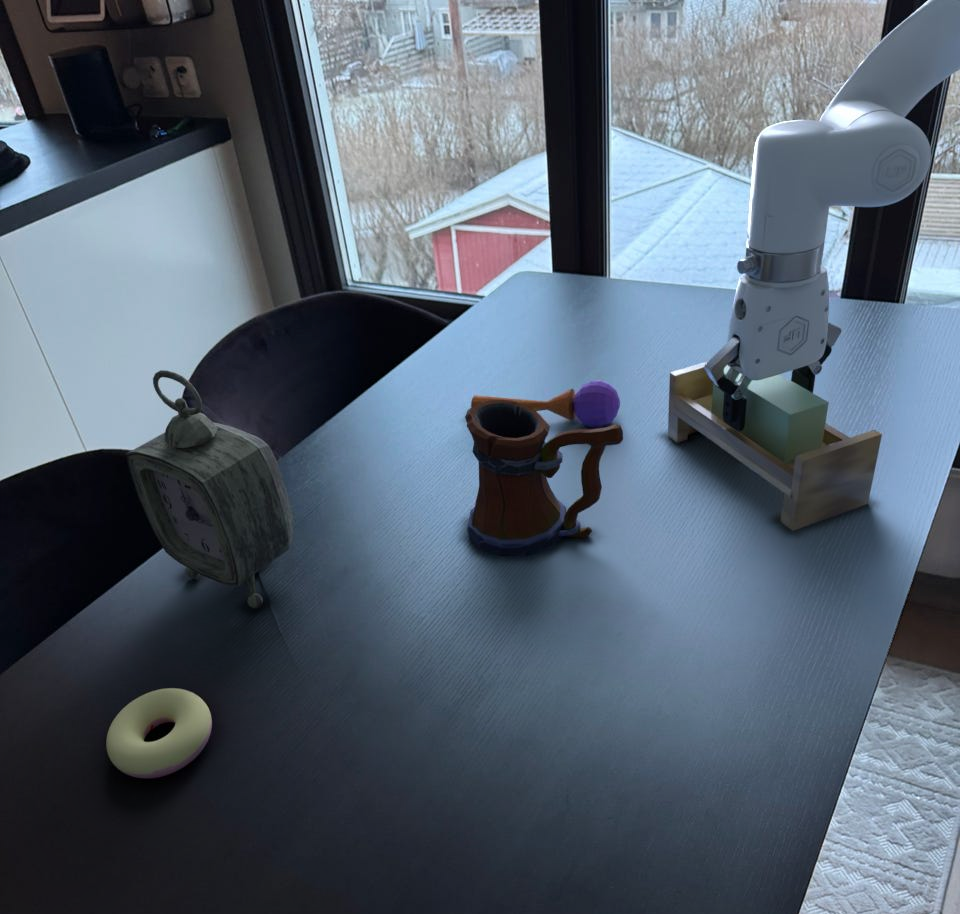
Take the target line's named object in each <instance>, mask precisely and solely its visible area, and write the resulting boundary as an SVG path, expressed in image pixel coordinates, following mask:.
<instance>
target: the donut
mask: <svg viewBox="0 0 960 914" xmlns="http://www.w3.org/2000/svg"><path fill="white" fill-rule="evenodd" d="M167 723H174V727H173V728H172V729H171V730H170V732H169V733H168V734H166V735H165V736H163V737H161V738H159V739H157V740H153V741H145V740H146V737H147V736H148V734H149V733H150V732H151V731H152V730H153V729H156V727H158V726H160V725H163V724H167ZM212 728H213V719H212V713H211V711H210V709H209V707H208V705H207V703H206V702H205V701H204V700H203V698H201V697H200V696H199V695H198V694H196V693H194V692H193V691H189V690H187V689H183V688H175V687H169V688H168V687H167V688H160V689H156V690H152V691H150V692H147V693H145V694H142V695H140V696H138V697H137V698H135V699H133V700H132V701H130V702H129V703H128V704H127V705H126V706H124V707H123V708H122V709H121V710H120V711H119V712H118V713H117V715H116V716H115V717H114V719H113V720H112V722H111V724H110V726H109V728H108V731H107V735H106V740H105V741H106V742H105V743H106V744H105V745H106V752H107V756H108V758H109V759H110V761H111V763H112V765H113V766H114V767H115V768H116V769H117V770H119V771H120V772H121V773H123V774H125V775H127V776H130V777H132V778H137V779H156V778H157V779H158V778H161V777H165V776H169V775H171V774H174V773H175V772H178V771H180V770H181V769H183V768H185V767H186V766H188V765H189V764H190V763H192V762H193V761H194V760H195V759H196V758H198V756H199V755H200V754H201V753H202V752H203V750H204V748H205V747H206V745H207V743H208V742H209V739H210V737H211V734H212Z"/></svg>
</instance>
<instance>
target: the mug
mask: <svg viewBox="0 0 960 914" xmlns="http://www.w3.org/2000/svg"><path fill="white" fill-rule="evenodd" d="M464 419H465V421H466V428H467V430H468V431H469V433H470V435H471V437H472V441H473V445H472V446H473V447H472V454H473V455H474V457H475V458H476V460H477V461H478V491H477V495H476V499H475V504H474V506H473V508H470V509H469V518H468V522H467V527H466V529H467V534H468V537H469V538H470V539H471V541H472V542H473V543H474V545H475V546H476V547H477V549H478V550H480V551H482V552H486V553H491V554H495V555H498V556H502V557H507V556H509V557H521V556H522V557H527V556H531V555H535V554H536V553H539V552H542V551H543V552H544V551H545V550H549V549H551V548H553V547H555V545H556V544H557V543H559V542H560V540H562V539H563V538H564V537H567V538H575V539H587V538H588V537H589V536H590V534H591V533H592V532H593V529H592V527H589V526H585V527H581V526H582V525H581V522H580V521H579V520H578V515H579V514H580V513H582V512H584V511H586V510H587V509H589V508H591V507H592V506H594V505H595V504H597V502H598V501H599V500H600V498H601V492H602V486H603V485H602V482H601V475H600V463H601V462H600V461H601V458H602V456H603V453H604V452H605V449H606V446H616V445H619V444H621V443H622V442H623V440H624V430H623V428H622V425H620V424H618V423H615V424H612V425H609V426H607V427H597V428H592V429H591V428H575V429H568V430H564V431H562V432H560V433H558V434H555V435H554V436H553V437H551V438H550V439H549V440H548V441H547V442H546V438H547V437H548V436H549V432H550V428H551V426H550V424H549V423H548V422H547V421H546V419H545V417H543V416H542V414H541V413H540V412H539V411H535V410H533V409H531V408H529V407H528V406H526V405H524V404H522V403H521V404H518V403H517V402H514V401H508V400H502V399H501V400H490V401H484V402H482V403H479V404H477V405H475V406H473V407H471V406H470V408H469V409H467V411H466V414H465V417H464ZM571 445H572V446H573V445H589V446H590V448H589V450H588V451H587V453H586V454H585V457H584V459H583V461H582V464H581V470H580V480H581V488H582V489H581V490H582V496H580V497H579V498H577V499H576V500H575V501H574V502H573V503H572V504H570V506H569V507H568V508H566V507H567V506H566V505H565V504H563V503H562V502H561V501H560V500H559V499H558V498H557V497H556V495H555V493H554V492H553V490H552V488H551V486H550V484H549V481H548V479H552V478H553V477H554V476H555V475H556V474H557V473H558V471H559V470H560V468H561V464H562V463H563V461H564V459H563V458H564V455H563V453H562V452H561V451H560V448H564V447H567V446H571Z"/></svg>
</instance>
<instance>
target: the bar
mask: <svg viewBox="0 0 960 914" xmlns="http://www.w3.org/2000/svg"><path fill="white" fill-rule="evenodd" d="M729 369H730V367H729V366H728V365H727V366H726V367H725V368H724V374H725V375H726V374H727V372H728V370H729ZM742 375H743V374H741V373H740V374H739V375H738V377H737V379H736V380H735V382H734V383H733V384H735V385H736V384H737V382H738V381H739V379H740V377H741V376H742ZM743 396H744V397H745V398H746V399H747V405H746V416H745V427H744V429H743V430H742V431H739V432H740V433H741V434H743V435H744V436H746V437H747V438H749V439H750V440H752V441H753V442H755V443H756V444H758V445H759V446H761V447H762V448H763V449H765V450H766V451H768V452H769V453H771V454H772V455H774V456H775V457H777V458H778V459H780V460H781V461H783V462H784V463H789V462H792V461H795V457H796V456H797V455H800V454H803V453H806V452H809V451H812V450H815V449H818V448H821V447H822V442H823V436H824V429H825V423H826V424H827V418H828V417H827V416H828V410H829V401H827V400H825V398H822V397H820V396H818V395H817V394H815V393H814V392H813V393H812V392H810V391H808V390H806V389H805V388H803V387H801V386H799V385H798V384H796V383H794V382H792V381H791V379H789V378H788V377H786V376H783V375H782V374H779V375H776V376H772V377H769V378H766V379H762V380H752V381H751V383H750V384H749V386H748V387H747V389H746V391H745V392H744V394H743ZM723 402H724V392H722V391H721V390H720V389H719V388H718V387H717V386H715V385H714V384H713V395H712V410H711V413H712V414H714V415H715V416H717V417H718V418H719V419H721V420H722V421H724V420H723Z"/></svg>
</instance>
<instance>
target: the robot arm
mask: <svg viewBox="0 0 960 914" xmlns="http://www.w3.org/2000/svg"><path fill="white" fill-rule="evenodd" d="M958 71H960V0H927V1H925V2H924V3H923V4H922V5H921V6H920V7H918V8H917V9H916V10H915V11H914V12H912V13H911V14H910V15H909V16H908V17H906V18H905V19H904V20H903V21H901V22H900V23H899V24H898V25H897V26H896V27H894V28H893V29H892V30H891V31H890V32H889V33H887V35H885V36H884V37H883V38H882V39H881V40H880V41H879V42H878V43H877V44H876V45H875V47H874V48H873V49H871V50H870V52H868V54H867V55H866V56H865V57H864V58H863V60H862V61H861V62H860V63H859V65H858V66H857V67H856V68H855V70H854V71H853V72H852V73H851V75H850V77H849V78H848V79H847V80H846V81H845V83H844V84H843V85H842V87H841V88H840V89H839V91H837V93H836V94H835V95H834V97H833V98H832V100H831V101H830V102H829V104H828V105H827V107H826V108H825V110H824V112H822V114H821V117H820V118H819V120H814V119H795V120H786V121H781V122H777V123H774V124H772V125H769V126H767V127H766V128H764V129H762V131H761V132H760V133H759V135H758V136H757V138H756V141H755V144H754V151H753V160H752V161H753V162H752V172H751V173H752V174H751V184H750V185H751V187H750V199H749V212H748V222H747V223H748V226H747V234H746V235H747V237H746V246H745V257H744V258H743V259H740V260H738V261H737V263H736V269H737V272H738V273H739V274H740V275H742V276H740V277H739V280H738V283H737V287H736V290H735V294H734V298H733V302H732V307H731V313H730V317H729V325H728V332H727V341H726V344H725V345H724V346H723V347H722V348H720V349H719V350H718V351H717V352H716V354H714V355H713V356H712V357H711V358H710V359H709V360H707V361H708V362H707V361H706V362H707V363H706V364H705V366H704V369H705V371H706V372H707V374H708V376H709V377H710V379H711V381H712V383H713V384H714V385H715V386H717V387H718V388H719V389H720V390H721V391H722V392H724V402H723V420H724V422H725V423H726V424H728V425H729V426H730V427H732V428H733V429H735V430H736V431H738V432H739V431H742V430H743V429H744V427H745V416H746V405H747V399H746V398H745V397H744V396H743V394H744V392H745V391H746V389H747V387H748V386H749V384H750V383H751V381H752V380H762V379H766V378H769V377H772V376H776V375H779V374H780V375H782V374H785V373H787V372H788V373H789V372H791V378H790V380H791V381H792V382H794V383H796V384H798V385H799V386H801V387H803V388H805V389H806V390H808V391H810V392H812V393H813V394H814V389H815V382H816V376H818V375H820V373H821V372H822V370H823V366H822V365H823V364H824V362H826V360H827V358H828V357H829V356H830V355H831V354H832V350H833V347H834V345H835V344H836V342H837V341H838V339H839V337H840V335H841V334H842V328H841V327H839V326H837V325H834V324H833V323H831V322H829V313H830V290H829V289H830V286H829V275H828V269H827V268H826V267H825V266H823V264H822V263H823V259H824V258H823V256H824V250H825V249H824V248H825V244H826V243H825V241H826V234H827V228H828V220H829V212H830V207H857V208H877V207H885V206H890V205H893V204H895V203H898V202H900V201H902V200H904V199H906V198H907V197H909V196H910V195H911V194H913V192H915V191H916V190H917V189H918V188H919V187H920V185H921V184H922V183H923V181H924V180H925V178H926V176H927V174H928V172H929V169H930V165H931V159H932V149H931V144H930V142H929V139H928V138H927V135H926V134H925V133H924V131H923V130H922V129H921V128H920V127H919V126H918V125H917V124H915V123H914V122H913V121H911V120H909V119H907V118H906V117H907V115H909V113H910V112H911V111H912V110H913V109H914V107H915V106H916V105H917V104H919V102H920V101H921V100H922V99H923V98H924V97H925V96H927V94H928V93H929V92H931V91H932V90H933V89H934V88H935V87H937V86H938V85H939V84H940V83H942V82H943V81H944V80H946V79H947V78H949V77H951V76H952V75H954V74H955V73H957V72H958ZM727 365H728V366H729V367H730V369H729V370H728V372H727V374H726V375H725V374H724V368H725V367H726V366H727ZM740 373H741V374H743V375H742V376H741V377H740V379H739V381H738V382H737V384H736V385H735V384H733V383H734V382H735V380H736V379H737V377H738V375H739V374H740Z"/></svg>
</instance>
